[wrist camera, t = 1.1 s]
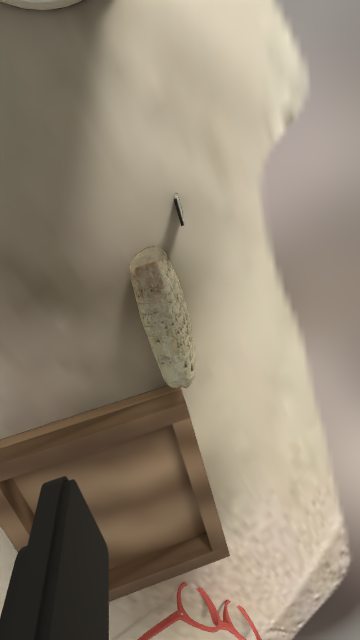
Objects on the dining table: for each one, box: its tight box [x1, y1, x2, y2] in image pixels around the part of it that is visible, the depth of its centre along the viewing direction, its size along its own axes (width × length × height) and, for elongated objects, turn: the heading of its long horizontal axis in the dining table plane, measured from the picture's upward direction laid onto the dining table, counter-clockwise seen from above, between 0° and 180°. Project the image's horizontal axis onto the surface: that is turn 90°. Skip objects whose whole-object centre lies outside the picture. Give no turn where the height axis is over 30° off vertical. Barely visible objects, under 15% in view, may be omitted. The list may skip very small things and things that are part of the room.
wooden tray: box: [0, 385, 230, 601], centre depth 31 cm, size 19×17×3 cm
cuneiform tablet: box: [129, 193, 195, 388], centre depth 23 cm, size 7×4×12 cm
